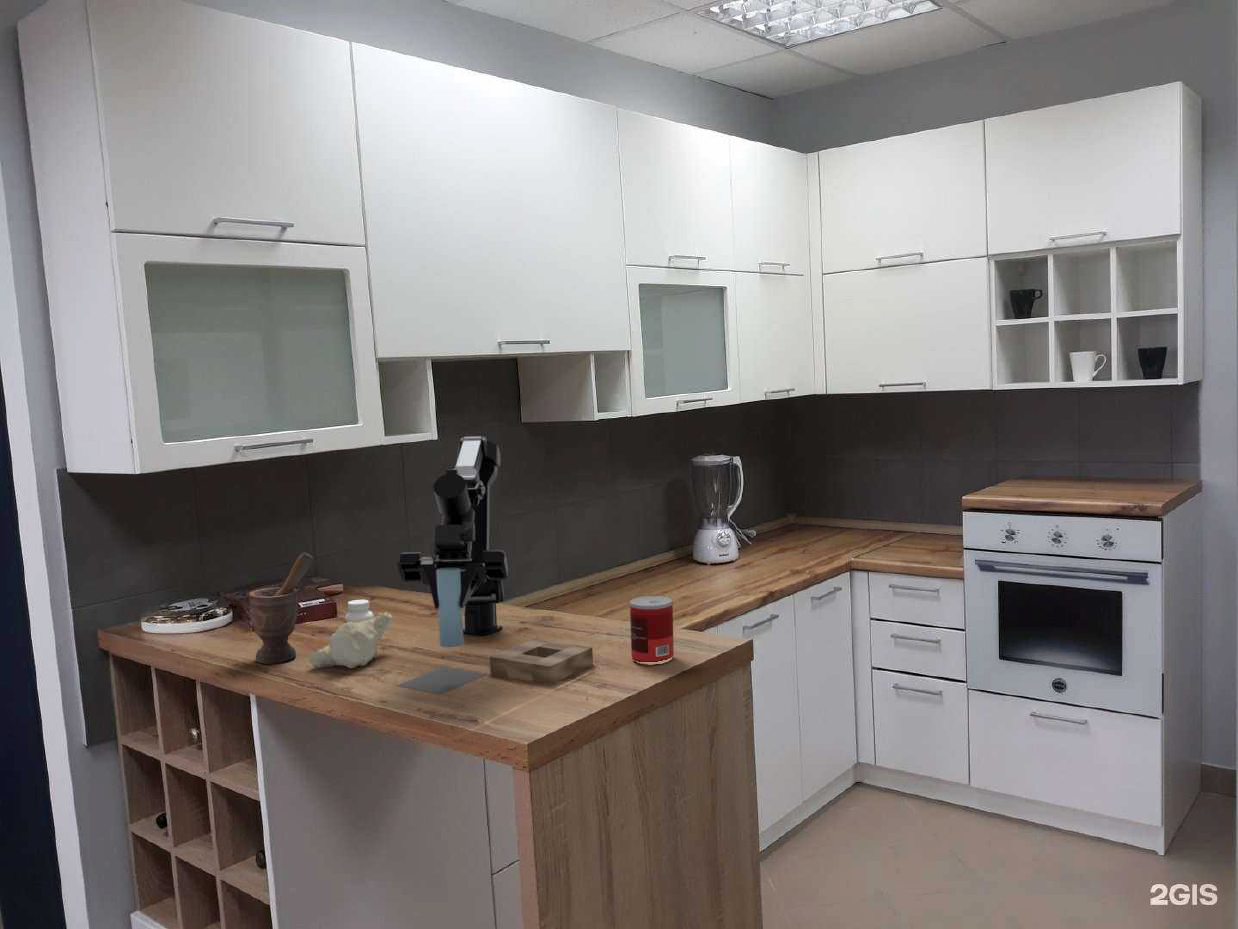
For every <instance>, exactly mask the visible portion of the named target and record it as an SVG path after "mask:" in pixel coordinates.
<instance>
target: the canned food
mask: <svg viewBox="0 0 1238 929" xmlns="http://www.w3.org/2000/svg"><path fill="white" fill-rule="evenodd" d="M629 603H630V604H629V616H630V617H629V619H630V621H629V622H630V644H631V645H630V647H631V651H630V652H631V658H632V661H633V660H635V661H638V662H658V661H663V660H667V659H669V658H671V657H672V656H673V657H674V654H675V653H674V652H675V650H674V609H673V606H674V605H673V604H674V603H673V599H671V598H669V597H666V596H660V595H659V596H657V595H649V596H648V595H647V596H639V597H636V598H634V599H633V598H632V599H631V600H630V601H629Z"/></svg>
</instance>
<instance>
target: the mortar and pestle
mask: <svg viewBox="0 0 1238 929" xmlns="http://www.w3.org/2000/svg"><path fill="white" fill-rule="evenodd" d="M313 563H314V556H312V555H310V554H309V553H306V552H302V553H301V554H299V556H298V557H297V558H296V560H295V562H294V563H293V565H292V567H291V569H290V572H289V575H288V576H287V578H286V580H285V582H284V584H283V585H282V586H278V587H277V586H275V587H266V588H260V589H255V590H251V592H249V593H248V595H249V596H248V598H249V607H250V609H249V610H250V611H249V613H250V620H251V624H252V627H253V628H254V633H255V634H256V635H257V636H258V637H259V638H260V640H261V641H262V644H263V645H261V647H260V648H259V649H258V650H257V651H256V655H255V658H254V659H255V660H256V661H255V662H257V663H260V664H265V665H272V664H279V663H285V662H288V661H291V660H293V659H294V658H296V657H297V652H296V649H295V647H293V646H291V645H290V643H288V641H289V636H291V634H293V632H294V630H295V629H296V625H295V623H296V621H297V618H298V590H297V589H296V586H297V585H298V584H299V582H300V581H301V580H302V578H303V577H305V576H304V575H306V573H307V571H308V570H309V569H310V568H311V566H312V565H313Z"/></svg>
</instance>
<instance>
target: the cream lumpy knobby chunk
mask: <svg viewBox="0 0 1238 929" xmlns="http://www.w3.org/2000/svg"><path fill="white" fill-rule="evenodd" d="M376 614H377V616H375V617H374V619H369V620H366V621H362V622H357V623H354V622H347V623H345V622H344V624H342V625H340V626H339V627H338V628H336V630H335V632H334V633H332V634H331V636H330V639H329V644H328V645H325V646H323V647H322V648H320V649H317V650H316V652H314V653H313V654H312V655H311V657H310V658H309V663H310V664H311V666H312V668H313V667H314V668H316V669H323V668H325V667H331V668H333V667H335V666H342V667H343V666H344V667H347V668H349V669H354V668H357V666H359V667H360V666H361V667H362V666H366V665H367V664H368V663H369V662H371V661H372V660H374V658H375V656H376V655H377V653H378V647H379V646H380V644H381V640H382V637H383V635H384V634H385V632H386V631H387V629H388V626H389V625H390V624H391V622H392V621H394V617H393V615H392V614H391V613H388V611H385V612H384V613H382V612H381V613H380V612H378V611H377V612H376Z"/></svg>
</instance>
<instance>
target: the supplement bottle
mask: <svg viewBox="0 0 1238 929" xmlns="http://www.w3.org/2000/svg"><path fill="white" fill-rule="evenodd" d="M369 609H370V601H369V600H367V599H353V600H350V601H348V602H347V610H348V611H349V612H347V613H346V614H345V617H344V624H345V623H347V622H354V623H357V622H362V621H366V620H369V619H374V618H375V617H374V613H373V611H370V610H369Z"/></svg>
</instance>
